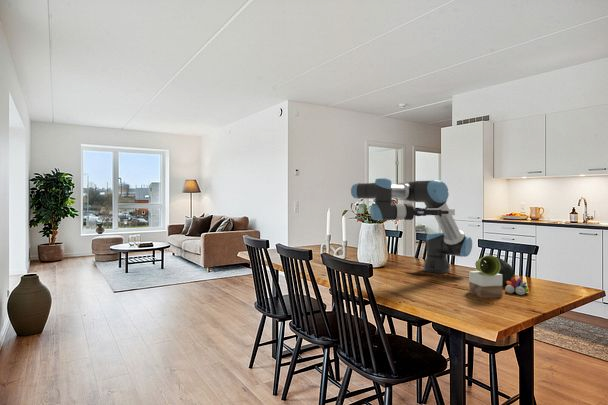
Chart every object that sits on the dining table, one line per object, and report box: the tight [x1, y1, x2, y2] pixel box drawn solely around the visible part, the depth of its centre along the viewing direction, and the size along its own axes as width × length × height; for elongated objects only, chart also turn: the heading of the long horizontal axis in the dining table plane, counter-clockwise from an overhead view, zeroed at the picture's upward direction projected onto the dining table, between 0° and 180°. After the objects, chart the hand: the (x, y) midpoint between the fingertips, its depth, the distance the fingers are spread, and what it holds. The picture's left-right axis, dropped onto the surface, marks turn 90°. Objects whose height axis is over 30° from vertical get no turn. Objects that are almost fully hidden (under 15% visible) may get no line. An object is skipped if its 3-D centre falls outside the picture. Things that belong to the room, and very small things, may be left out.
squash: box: [485, 256, 515, 286], centre depth 197 cm, size 14×15×15 cm
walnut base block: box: [468, 281, 503, 298], centre depth 176 cm, size 10×10×5 cm
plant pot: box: [475, 254, 501, 276], centre depth 175 cm, size 9×9×9 cm
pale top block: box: [468, 270, 503, 287], centre depth 176 cm, size 10×10×5 cm
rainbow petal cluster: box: [505, 277, 530, 296], centre depth 178 cm, size 8×10×7 cm
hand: (447, 211), depth 180 cm, fingers open, 13 cm apart
